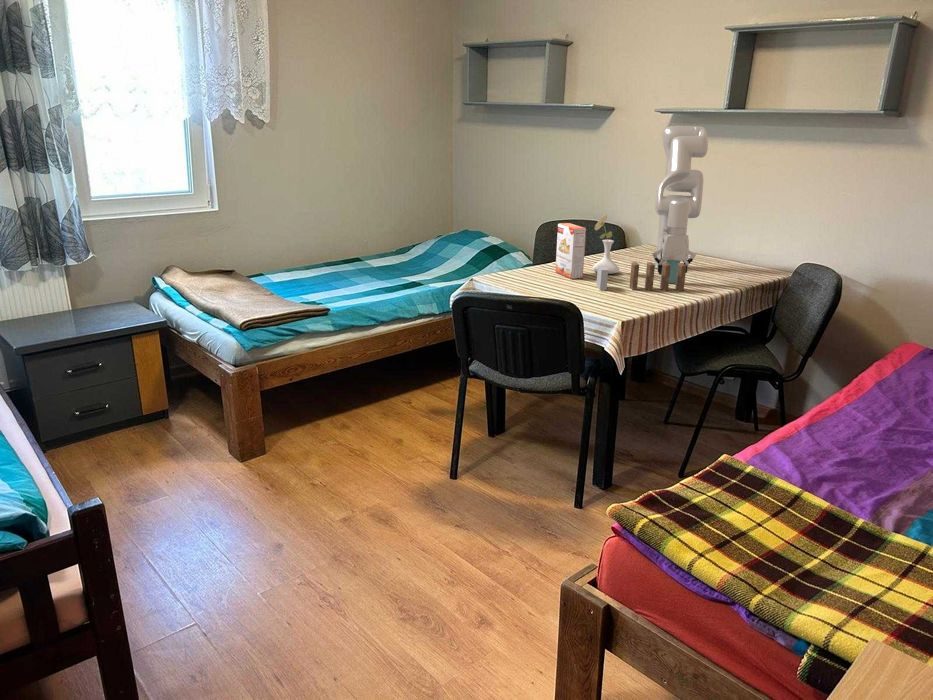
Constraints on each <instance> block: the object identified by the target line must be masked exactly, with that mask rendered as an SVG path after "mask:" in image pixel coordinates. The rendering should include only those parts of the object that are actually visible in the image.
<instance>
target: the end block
mask: <svg viewBox="0 0 933 700" xmlns="http://www.w3.org/2000/svg"><path fill="white" fill-rule="evenodd" d="M596 274H597V275H596V285H597V286H596V287H597V289H598V288H599V289H598V290H599V291H600V290H607V289H608V280H609V279H608V276H609V274H608V269H607V268H606V267H605V266H598V271H597V272H596Z"/></svg>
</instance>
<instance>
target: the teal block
mask: <svg viewBox="0 0 933 700" xmlns="http://www.w3.org/2000/svg"><path fill="white" fill-rule="evenodd" d="M666 263H668V264H670V265H671V269H670V278H669V284H676V277H677V268H678V263H681V261H667V260H666Z"/></svg>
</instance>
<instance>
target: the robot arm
mask: <svg viewBox="0 0 933 700" xmlns="http://www.w3.org/2000/svg"><path fill="white" fill-rule="evenodd" d="M707 132H708V131H707V129H706V128H705V126H699V125H671V126H667V127H666V128H664V130H663V131H662V146H663V149H664V154H665V157H666V159H665V160H666V161H665V173H664V177H663V178H662V179H661V181H660V182H659V184H658V186H657V189H656V191H655V192H656V194H655V204H654V205H655V212H656V214H657V215H658V216H659V218H658V219H659V221H658V232H657V233H658V234H657V240H656V241H657V243H656V249H655V250H656V251H654V252H652V258H653V260H655V261H654V262H652V263H653V264H654V265H655V269H656V268H657V274H658V275H659V276H661V274H662V264H663V263H666V260H667V261H680V262H682V263H683V264H685V265H686V274H687V273H688V266H689V265H690V264H691V263H692V262H693V260H694V259H695V258H696V257H697V254H696V253H694V252H692V251H690V248H689V247H690V246H689V245H690V244H689V235H688V234H687V231H688V224H689V223H688V222H689V221H688V220H689V219H697V218H698V217H699V216H700V214H701V212H702V203H703V202H702V200H703V190H704V174H703V172H702V171H701V170H698V169H692V158H697V159H698V158H704V157H705V156H707V153H708V149H709V139H708V137H709V136H708V133H707ZM665 190H666V191H668V192H672V193H673V192H675V193H689V194H690V195H683V194H682V195H681V194H667V195H664V191H665Z"/></svg>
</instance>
